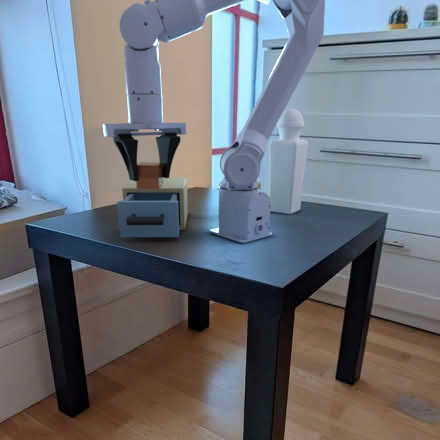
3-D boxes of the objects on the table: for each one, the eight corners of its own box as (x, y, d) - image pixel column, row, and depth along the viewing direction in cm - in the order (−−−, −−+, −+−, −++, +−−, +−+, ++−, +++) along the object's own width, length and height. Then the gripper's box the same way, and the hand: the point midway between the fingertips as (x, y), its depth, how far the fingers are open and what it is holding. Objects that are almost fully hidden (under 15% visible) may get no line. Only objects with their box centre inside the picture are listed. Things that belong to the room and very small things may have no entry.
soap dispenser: (265, 211, 97) (270, 108, 88) (278, 206, 102) (284, 108, 93) (291, 215, 94) (299, 108, 85) (303, 209, 99) (311, 108, 90)
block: (141, 184, 77) (140, 162, 76) (163, 185, 77) (162, 162, 75) (136, 188, 74) (134, 165, 72) (158, 188, 73) (157, 165, 72)
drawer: (177, 244, 70) (175, 207, 68) (115, 245, 70) (111, 207, 67) (182, 220, 86) (181, 189, 83) (131, 220, 86) (129, 189, 83)
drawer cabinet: (184, 230, 82) (183, 188, 79) (125, 230, 82) (121, 188, 79) (187, 213, 95) (186, 177, 91) (136, 214, 94) (133, 177, 91)
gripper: (111, 93, 62) (119, 185, 68) (194, 95, 70) (195, 178, 75) (95, 94, 68) (104, 179, 73) (174, 96, 75) (176, 173, 81)
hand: (149, 178), depth 75 cm, fingers closed on block, 5 cm apart
